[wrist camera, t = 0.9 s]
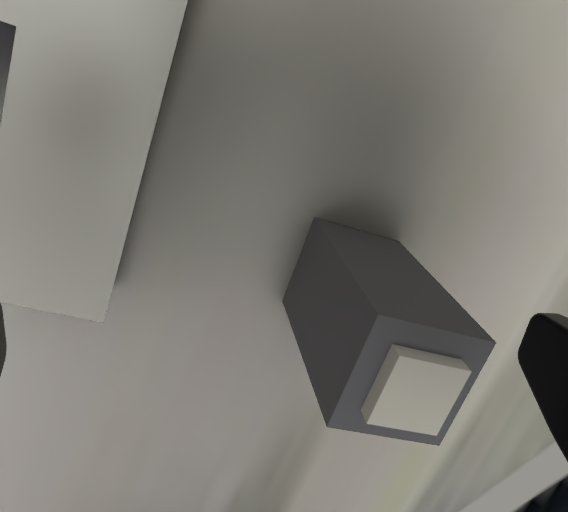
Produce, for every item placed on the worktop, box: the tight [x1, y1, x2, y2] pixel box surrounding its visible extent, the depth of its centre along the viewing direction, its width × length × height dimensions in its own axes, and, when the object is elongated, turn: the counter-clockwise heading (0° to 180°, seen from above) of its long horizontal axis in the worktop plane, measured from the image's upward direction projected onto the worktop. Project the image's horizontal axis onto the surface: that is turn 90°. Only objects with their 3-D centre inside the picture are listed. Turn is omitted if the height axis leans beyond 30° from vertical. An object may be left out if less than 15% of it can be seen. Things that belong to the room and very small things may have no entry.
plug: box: [283, 217, 496, 446], centre depth 20 cm, size 4×4×9 cm
